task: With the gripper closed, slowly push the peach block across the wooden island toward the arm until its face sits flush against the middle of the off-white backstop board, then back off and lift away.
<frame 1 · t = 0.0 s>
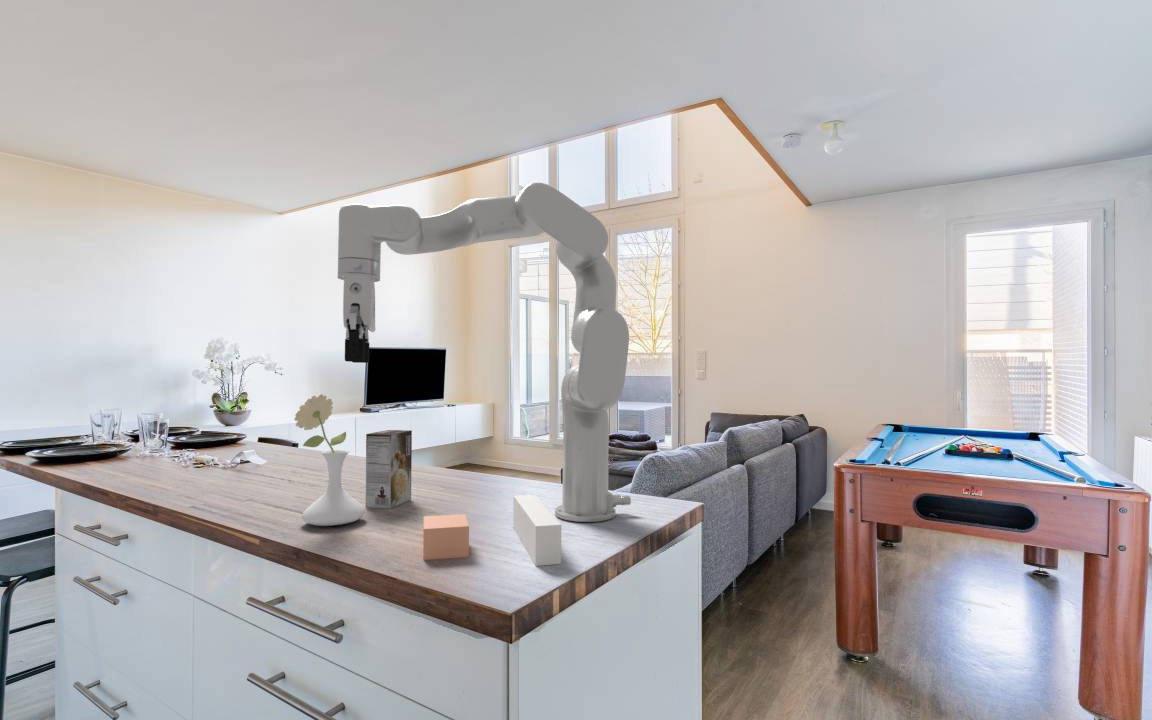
hand: (357, 362, 105), 31 cm above the worktop, fingers open, 9 cm apart
backstop board: (534, 543, 96), on the worktop
flower in vase: (329, 524, 108), on the worktop
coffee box: (388, 504, 125), on the worktop
peach block: (445, 551, 92), on the worktop
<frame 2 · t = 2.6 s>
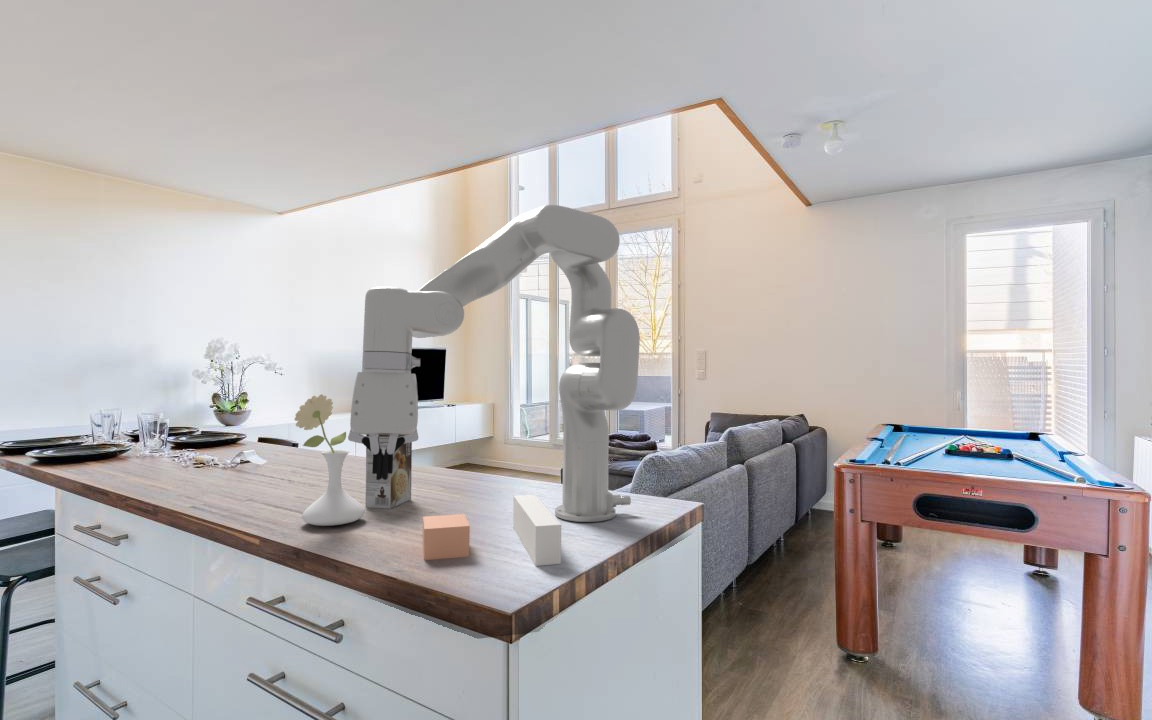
hand: (382, 478, 90), 12 cm above the worktop, fingers closed
nothing on the worktop moved.
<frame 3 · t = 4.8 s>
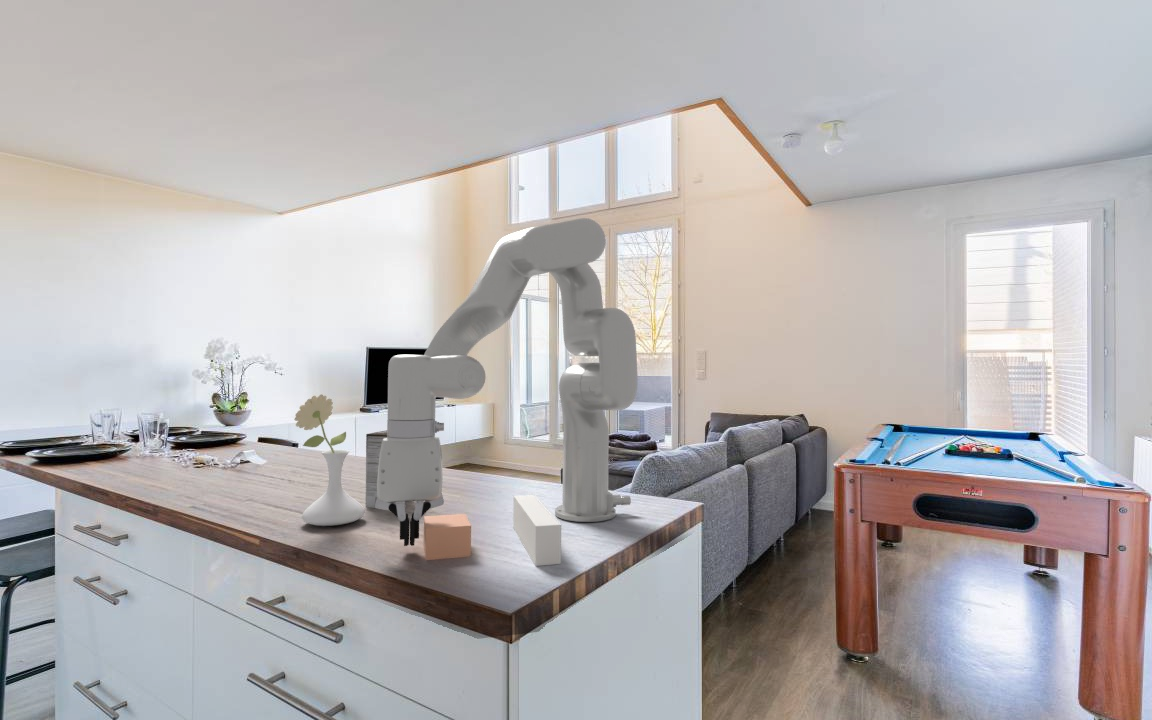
hand: (409, 543, 91), 2 cm above the worktop, fingers closed
peach block: (446, 551, 92), on the worktop, touching gripper
everything else where it was.
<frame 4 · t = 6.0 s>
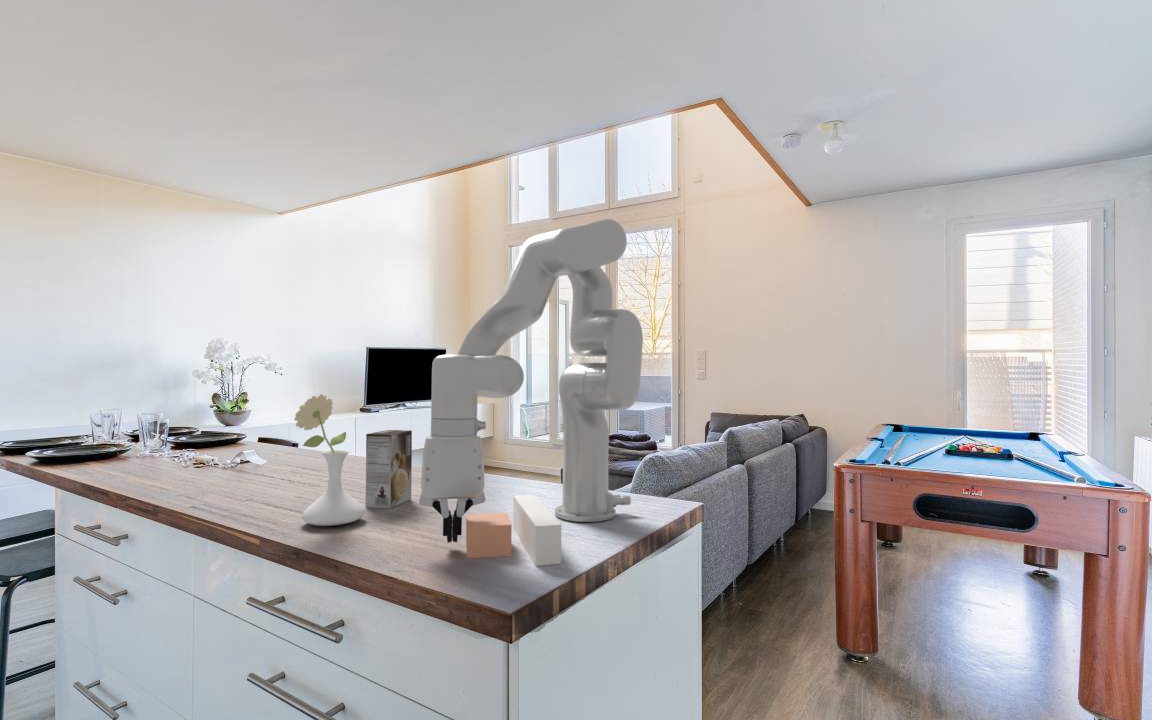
hand: (452, 539, 93), 2 cm above the worktop, fingers closed
peach block: (487, 549, 93), on the worktop, touching gripper
everything else where it was.
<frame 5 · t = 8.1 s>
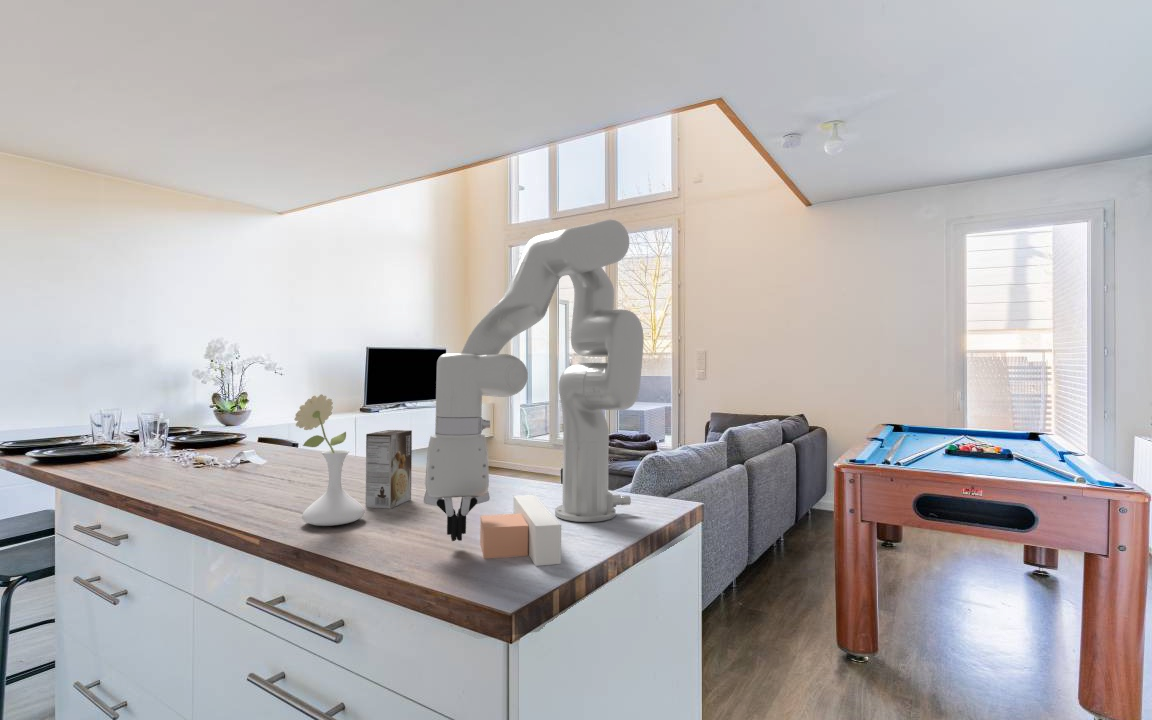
hand: (456, 538, 93), 2 cm above the worktop, fingers closed
peach block: (503, 550, 93), on the worktop
everything else where it was.
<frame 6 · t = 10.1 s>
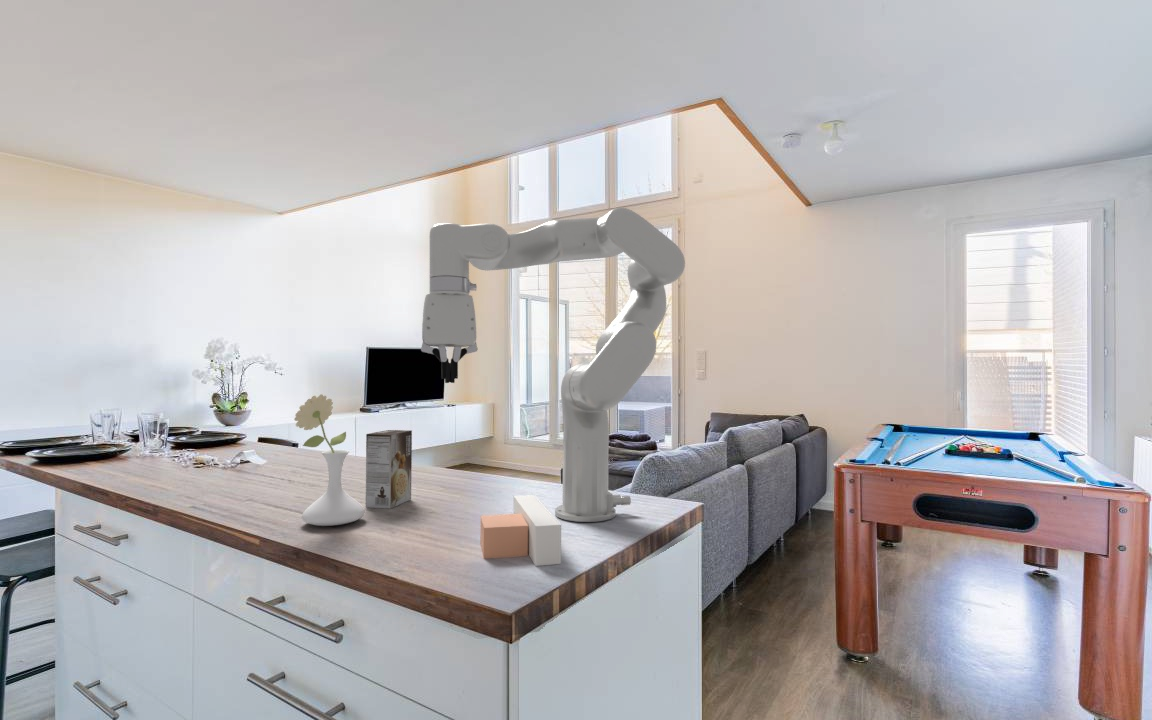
hand: (449, 382, 109), 27 cm above the worktop, fingers closed
nothing on the worktop moved.
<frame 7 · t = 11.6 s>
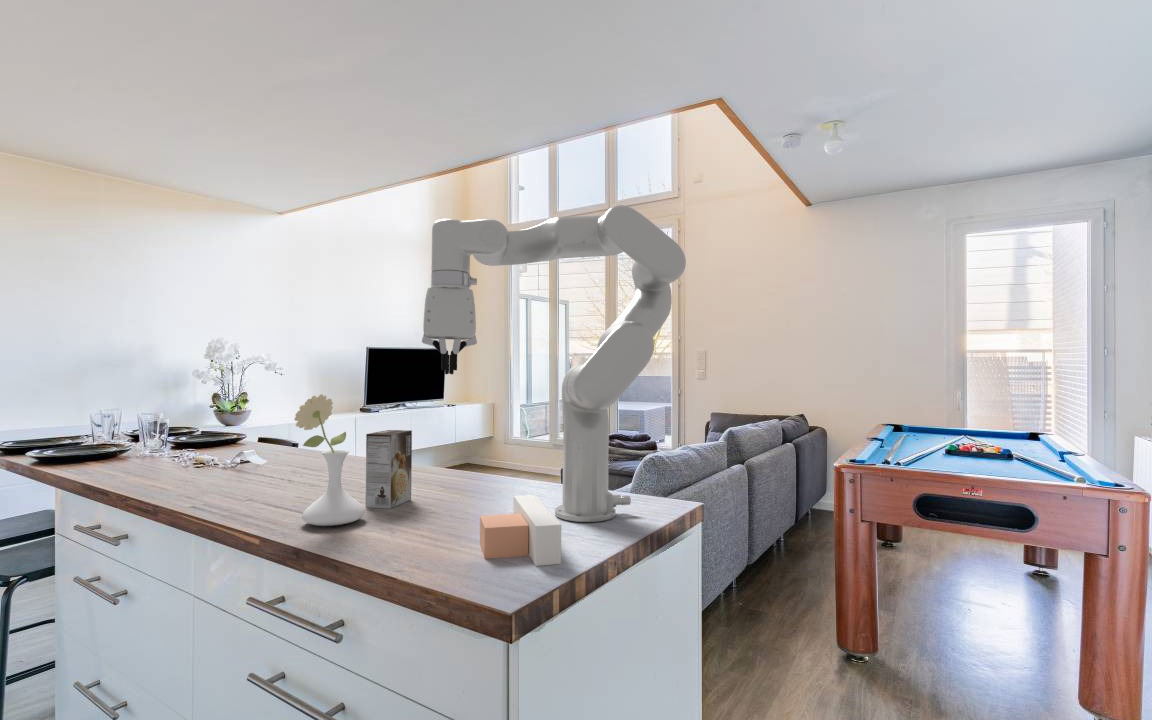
hand: (449, 374, 112), 29 cm above the worktop, fingers closed
nothing on the worktop moved.
at the end: peach block inside the target area on the worktop beside the backstop board (1.7 cm from its centre), on the worktop; peach block tilted 0° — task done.
